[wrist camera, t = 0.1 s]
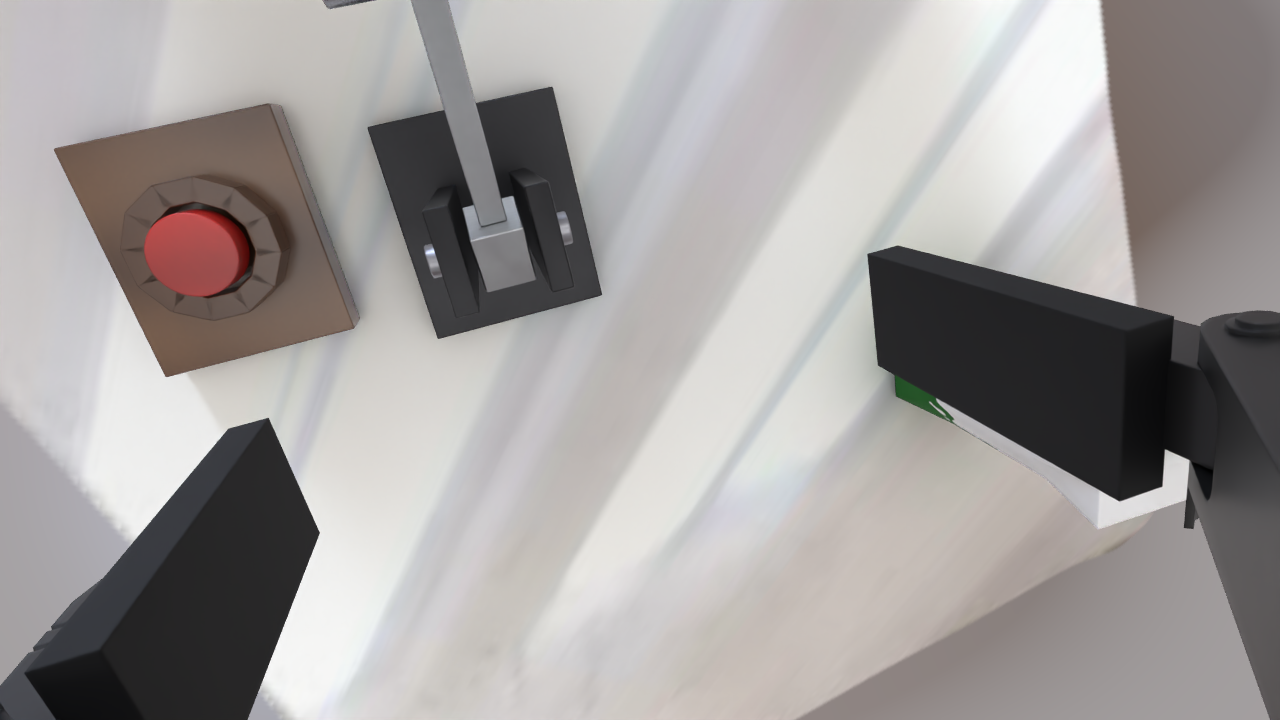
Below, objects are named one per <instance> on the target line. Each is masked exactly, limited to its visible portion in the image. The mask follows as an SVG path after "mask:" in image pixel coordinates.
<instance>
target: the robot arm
mask: <svg viewBox="0 0 1280 720" xmlns="http://www.w3.org/2000/svg"><path fill="white" fill-rule="evenodd" d="M868 265H869V275H870V286H871V296H872V307H873V317H874V328H875V338H876V349H877V359H878V366H880V367H882V368H884V369H885V370H887V371H889V372H891V373H892V374H894V375H896V376H898V377H899V378H901V379H903V380H905V381H907V382H908V383H910V384H912V385H914V386H915V387H917V388H919V389H921V390H922V391H924V392H926V393H928V394H930V395H931V396H933V397H935V398H937V399H938V400H940V401H942V402H944V403H946V404H947V405H949V406H951V407H953V408H954V409H956V410H958V411H960V412H961V413H963V414H965V415H967V416H969V417H970V418H972V419H974V420H976V421H977V422H979V423H981V424H983V425H984V426H986V427H988V428H990V429H992V430H993V431H995V432H997V433H999V434H1000V435H1002V436H1004V437H1006V438H1007V439H1009V440H1011V441H1013V442H1015V443H1016V444H1018V445H1020V446H1022V447H1023V448H1025V449H1027V450H1029V451H1031V452H1032V453H1034V454H1036V455H1038V456H1039V457H1041V458H1043V459H1045V460H1046V461H1048V462H1050V463H1052V464H1054V465H1055V466H1057V467H1059V468H1061V469H1062V470H1064V471H1066V472H1068V473H1069V474H1071V475H1073V476H1075V477H1077V478H1078V479H1080V480H1082V481H1084V482H1085V483H1087V484H1089V485H1091V486H1092V487H1094V488H1096V489H1098V490H1100V491H1101V492H1103V493H1105V494H1107V495H1108V496H1110V497H1112V498H1114V499H1116V500H1117V501H1119V502H1120V501H1123V500H1126V499H1129V498H1132V497H1135V496H1137V495H1140V494H1143V493H1146V492H1149V491H1152V490H1154V489H1157V488H1160V487H1163V473H1164V458H1165V450H1168V451H1170V452H1172V453H1174V454H1177V455H1179V456H1181V457H1183V458H1185V459H1188V460H1189V472H1188V484H1187V496H1186V509H1185V522H1184V528H1191V529H1193V528H1194V522H1195V520H1196V519H1198V518H1199V519H1200V522H1201V525H1202V528H1203V530H1204V533H1205V536H1206V539H1207V541H1208V545H1209V547H1210V550H1211V553H1212V556H1213V559H1214V562H1215V565H1216V567H1217V570H1218V573H1219V576H1220V579H1221V582H1222V584H1223V587H1224V590H1225V593H1226V596H1227V598H1228V601H1229V604H1230V607H1231V610H1232V613H1233V615H1234V618H1235V621H1236V624H1237V627H1238V630H1239V633H1240V636H1241V638H1242V641H1243V644H1244V647H1245V650H1246V653H1247V655H1248V658H1249V661H1250V664H1251V666H1252V669H1253V672H1254V675H1255V678H1256V681H1257V684H1258V687H1259V689H1260V692H1261V695H1262V698H1263V701H1264V704H1265V707H1266V709H1267V712H1268V715H1269V718H1270V720H1280V313H1277V312H1272V311H1247V312H1243V313H1233V314H1224V315H1220V316H1216V317H1212V318H1209V319H1208V320H1206V321H1204V322H1203V323H1201V326H1196V325H1192V324H1189V323H1185V322H1181V321H1178V320H1174V316H1170V315H1167V314H1162V313H1159V312H1155V311H1151V310H1147V309H1143V308H1139V307H1136V306H1132V305H1128V304H1124V303H1120V302H1116V301H1112V300H1108V299H1104V298H1100V297H1096V296H1093V295H1089V294H1085V293H1081V292H1077V291H1073V290H1069V289H1065V288H1061V287H1057V286H1054V285H1050V284H1046V283H1042V282H1038V281H1034V280H1030V279H1026V278H1022V277H1018V276H1015V275H1011V274H1007V273H1003V272H999V271H995V270H991V269H987V268H983V267H979V266H976V265H972V264H968V263H964V262H960V261H956V260H952V259H948V258H944V257H940V256H936V255H933V254H929V253H925V252H921V251H917V250H913V249H909V248H905V247H901V246H895V247H891V248H888V249H884V250H880V251H877V252H873V253H869V254H868ZM319 534H320V532H319V530H318V528H317V526H316V523H315V521H314V519H313V517H312V514H311V512H310V510H309V508H308V505H307V503H306V501H305V499H304V496H303V494H302V492H301V490H300V487H299V485H298V483H297V481H296V478H295V476H294V474H293V472H292V469H291V467H290V465H289V463H288V461H287V458H286V456H285V454H284V452H283V449H282V447H281V445H280V443H279V440H278V438H277V436H276V434H275V431H274V429H273V427H272V425H271V422H270V420H269V418H266V419H263V420H259V421H255V422H252V423H248V424H244V425H241V426H237V427H234V428H230V429H228V430H227V431H226V432H225V434H224V435H223V436H222V437H221V438H220V440H219V441H218V442H217V443H216V444H215V445H214V447H213V448H212V449H211V450H210V451H209V453H208V454H207V455H206V456H205V457H204V459H203V460H202V461H201V462H200V463H199V465H198V466H197V467H196V468H195V469H194V471H193V472H192V473H191V474H190V475H189V477H188V478H187V479H186V480H185V481H184V482H183V484H182V485H181V486H180V487H179V488H178V490H177V491H176V492H175V493H174V494H173V496H172V497H171V498H170V499H169V500H168V502H167V503H166V504H165V505H164V506H163V508H162V509H161V510H160V511H159V512H158V514H157V515H156V516H155V517H154V518H153V519H152V521H151V522H150V523H149V524H148V525H147V527H146V528H145V529H144V530H143V531H142V533H141V534H140V535H139V536H138V537H137V539H136V540H135V541H134V542H133V543H132V545H131V546H130V547H129V548H128V549H127V550H126V552H125V553H124V554H123V555H122V556H121V558H120V559H119V560H118V561H117V563H116V564H115V565H114V566H113V567H112V568H111V570H110V571H109V572H108V573H107V575H106V576H105V577H104V578H103V579H101V580H100V581H99V582H97V584H95V585H94V586H92V587H91V588H90V589H88V590H87V591H86V592H85V593H83V594H82V595H81V596H80V597H78V598H77V599H76V600H74V601H73V602H72V603H71V604H70V606H69V607H68V608H67V609H66V610H65V611H64V612H63V614H62V615H61V616H60V617H59V618H58V619H57V621H56V622H55V623H54V624H53V625H52V626H51V628H52V630H51V631H48V632H46V633H45V634H44V636H43V637H42V638H41V639H40V640H39V641H38V643H37V644H36V645H35V646H34V647H33V649H34V652H30V653H28V654H27V656H26V657H25V658H24V659H23V660H22V661H21V662H20V663H19V665H18V666H17V667H16V668H15V669H14V670H13V672H12V673H11V674H10V675H9V676H8V677H7V679H6V680H5V681H4V682H3V683H2V684H1V686H0V720H248V717H249V714H250V712H251V709H252V707H253V704H254V701H255V699H256V696H257V694H258V691H259V689H260V686H261V683H262V681H263V678H264V676H265V673H266V671H267V668H268V665H269V663H270V660H271V658H272V655H273V652H274V650H275V647H276V645H277V642H278V640H279V637H280V634H281V632H282V629H283V627H284V624H285V621H286V619H287V616H288V614H289V611H290V609H291V606H292V603H293V601H294V598H295V596H296V593H297V591H298V588H299V585H300V583H301V580H302V578H303V575H304V572H305V570H306V567H307V565H308V562H309V560H310V557H311V554H312V552H313V549H314V547H315V544H316V541H317V539H318V536H319Z"/></svg>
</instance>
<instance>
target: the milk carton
mask: <svg viewBox="0 0 1280 720" xmlns="http://www.w3.org/2000/svg"><path fill="white" fill-rule="evenodd" d="M895 386H896V397H899V398H901V399H903V400H905V401H907V402H909V403H911V404H913V405H915V406H917V407H920V408H922V409H924V410H926V411H928V412H930V413H932V414H934V415H936V416H938V417H940V418H942V419H945V420H947V421H949V422H951V423H953V424H955V425H956V426H958V427H960V428H961V429H963V430H965V431H966V432H968V433H970V434H972V435H973V436H975V437H977V438H978V439H980V440H982V441H983V442H985V443H987V444H988V445H990V446H992V447H993V448H995V449H997V450H998V451H1000V452H1002V453H1003V454H1005V455H1007V456H1008V457H1010V458H1012V459H1013V460H1015V461H1017V462H1019V463H1020V464H1022V465H1024V466H1025V467H1027V468H1029V469H1030V470H1032V471H1034V472H1035V473H1037V474H1038V475H1040V476H1042V477H1043V478H1045V479H1046V480H1047V481H1048V482H1049V483H1050V484H1051V485H1052V486H1053V487H1054V488H1056V489H1057V490H1058V491H1059V492H1060V493H1061V494H1062V495H1063V496H1064V497H1065V498H1066V499H1067V500H1068V501H1069V502H1070V503H1071V504H1072V505H1073V506H1074V507H1075V508H1076V509H1077V510H1078V511H1079V512H1080V513H1081V514H1082V515H1083V516H1084V517H1085V518H1087V519H1088V520H1089V521H1090V522H1091V523H1092V524H1093V525H1094V526H1095V527H1096V528H1097V529H1101V528H1104V527H1107V526H1110V525H1113V524H1116V523H1119V522H1122V521H1125V520H1128V519H1131V518H1134V517H1137V516H1140V515H1143V514H1146V513H1149V512H1152V511H1155V510H1158V509H1160V508H1163V507H1166V506H1169V505H1172V504H1175V503H1178V502H1181V501H1184V500H1186V496H1187V484H1188V472H1189V460H1188V459H1185V458H1183V457H1181V456H1179V455H1177V454H1174V453H1172V452H1170V451H1168V450H1165V458H1164V473H1163V487H1160V488H1157V489H1154V490H1152V491H1149V492H1146V493H1143V494H1140V495H1137V496H1135V497H1132V498H1129V499H1126V500H1123V501H1120V502H1119V501H1117V500H1116V499H1114V498H1112V497H1110V496H1108V495H1107V494H1105V493H1103V492H1101V491H1100V490H1098V489H1096V488H1094V487H1092V486H1091V485H1089V484H1087V483H1085V482H1084V481H1082V480H1080V479H1078V478H1077V477H1075V476H1073V475H1071V474H1069V473H1068V472H1066V471H1064V470H1062V469H1061V468H1059V467H1057V466H1055V465H1054V464H1052V463H1050V462H1048V461H1046V460H1045V459H1043V458H1041V457H1039V456H1038V455H1036V454H1034V453H1032V452H1031V451H1029V450H1027V449H1025V448H1023V447H1022V446H1020V445H1018V444H1016V443H1015V442H1013V441H1011V440H1009V439H1007V438H1006V437H1004V436H1002V435H1000V434H999V433H997V432H995V431H993V430H992V429H990V428H988V427H986V426H984V425H983V424H981V423H979V422H977V421H976V420H974V419H972V418H970V417H969V416H967V415H965V414H963V413H961V412H960V411H958V410H956V409H954V408H953V407H951V406H949V405H947V404H946V403H944V402H942V401H940V400H938V399H937V398H935V397H933V396H931V395H930V394H928V393H926V392H924V391H922V390H921V389H919V388H917V387H915V386H914V385H912V384H910V383H908V382H907V381H905V380H903V379H901V378H899V377H898V376H896V375H895Z"/></svg>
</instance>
